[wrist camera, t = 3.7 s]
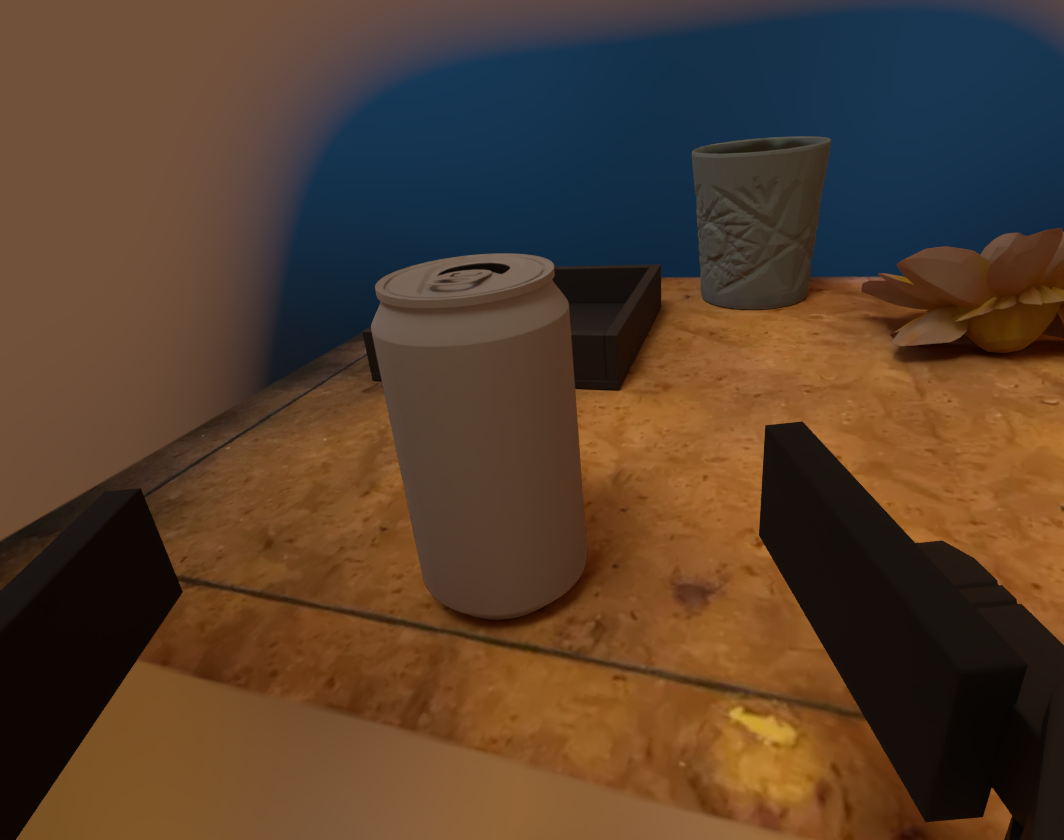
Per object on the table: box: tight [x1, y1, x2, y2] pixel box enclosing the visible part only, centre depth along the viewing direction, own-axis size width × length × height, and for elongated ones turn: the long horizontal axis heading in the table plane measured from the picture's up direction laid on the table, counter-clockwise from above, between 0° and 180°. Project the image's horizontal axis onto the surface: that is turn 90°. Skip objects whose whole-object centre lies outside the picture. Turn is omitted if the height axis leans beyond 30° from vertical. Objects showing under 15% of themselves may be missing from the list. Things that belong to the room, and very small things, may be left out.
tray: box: [363, 265, 661, 390], centre depth 51 cm, size 18×18×4 cm
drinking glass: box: [692, 137, 831, 309], centre depth 54 cm, size 10×10×12 cm
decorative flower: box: [861, 228, 1064, 353], centre depth 41 cm, size 15×11×10 cm
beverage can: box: [371, 254, 587, 620], centre depth 24 cm, size 6×6×12 cm
